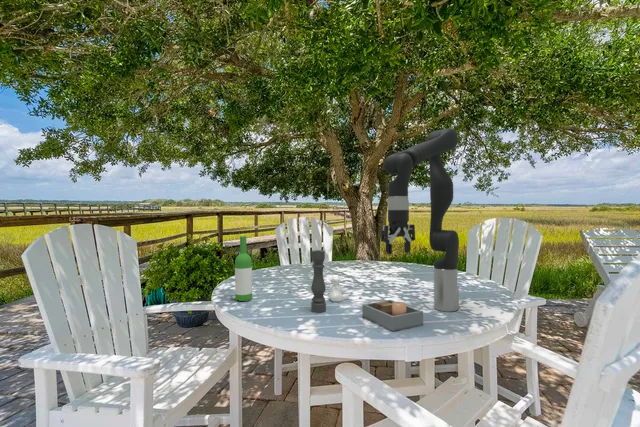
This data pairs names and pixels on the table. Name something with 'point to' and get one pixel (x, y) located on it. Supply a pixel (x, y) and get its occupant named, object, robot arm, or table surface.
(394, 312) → the tan cylinder
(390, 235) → the robot arm
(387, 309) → the walnut cube
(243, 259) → the wine bottle
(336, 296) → the white creature statuette
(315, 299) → the candle holder
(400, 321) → the grey tote
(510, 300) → the table surface
